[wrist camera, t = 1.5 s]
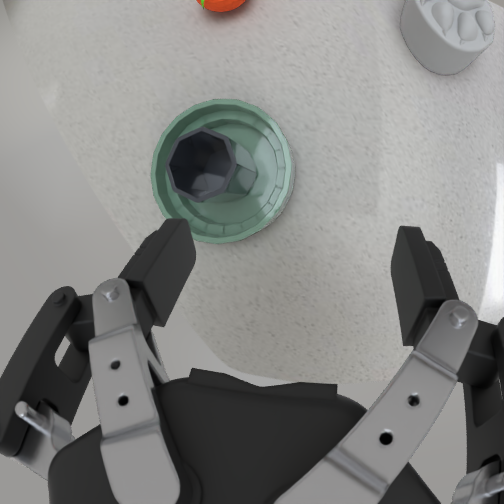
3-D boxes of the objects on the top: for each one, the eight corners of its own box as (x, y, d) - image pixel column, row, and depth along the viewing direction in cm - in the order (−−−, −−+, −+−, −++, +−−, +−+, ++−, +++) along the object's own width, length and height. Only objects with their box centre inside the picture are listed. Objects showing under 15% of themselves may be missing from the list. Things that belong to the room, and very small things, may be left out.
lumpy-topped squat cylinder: (474, 23, 21) (498, -6, 13) (467, 91, 24) (500, 67, 16) (407, -11, 23) (420, -48, 15) (391, 52, 26) (408, 14, 17)
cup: (241, 209, 32) (215, 212, 24) (194, 186, 33) (156, 183, 25) (265, 159, 31) (247, 144, 22) (216, 138, 31) (184, 119, 23)
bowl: (259, 259, 33) (249, 269, 28) (155, 204, 35) (132, 205, 30) (317, 142, 30) (316, 131, 25) (204, 97, 31) (186, 83, 27)
